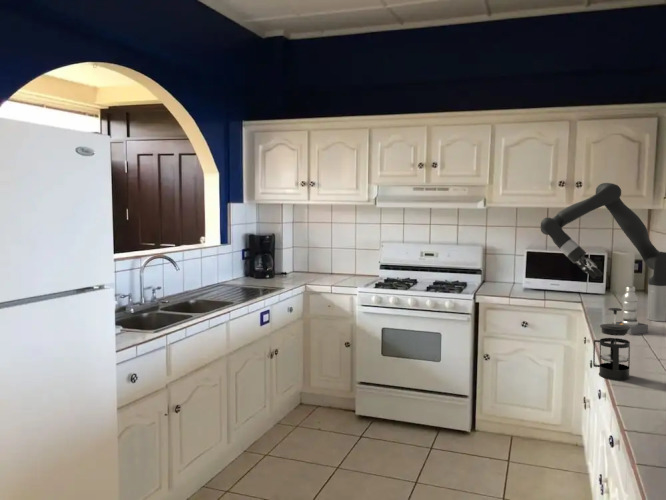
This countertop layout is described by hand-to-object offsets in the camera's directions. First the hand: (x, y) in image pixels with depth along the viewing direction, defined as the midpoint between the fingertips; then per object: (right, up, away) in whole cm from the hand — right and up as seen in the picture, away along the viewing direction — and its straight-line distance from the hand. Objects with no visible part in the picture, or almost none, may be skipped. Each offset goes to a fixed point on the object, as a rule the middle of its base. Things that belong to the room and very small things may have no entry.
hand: (598, 276), depth 260 cm
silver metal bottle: (+10, -24, -9) cm, 28 cm away
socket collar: (+10, -24, -9) cm, 27 cm away
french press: (-29, -30, -71) cm, 83 cm away
